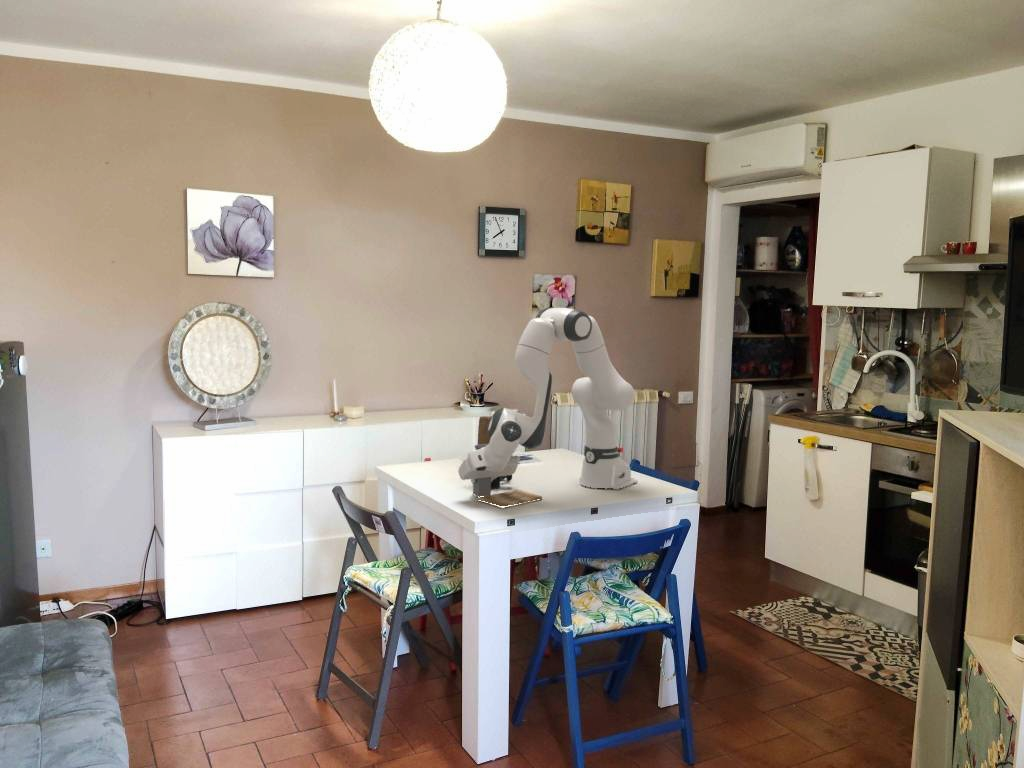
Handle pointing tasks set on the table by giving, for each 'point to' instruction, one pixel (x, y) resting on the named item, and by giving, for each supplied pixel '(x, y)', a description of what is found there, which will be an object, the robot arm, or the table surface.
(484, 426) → the block
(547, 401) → the robot arm
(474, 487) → the block
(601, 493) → the table surface
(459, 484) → the table surface
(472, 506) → the table surface
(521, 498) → the board
